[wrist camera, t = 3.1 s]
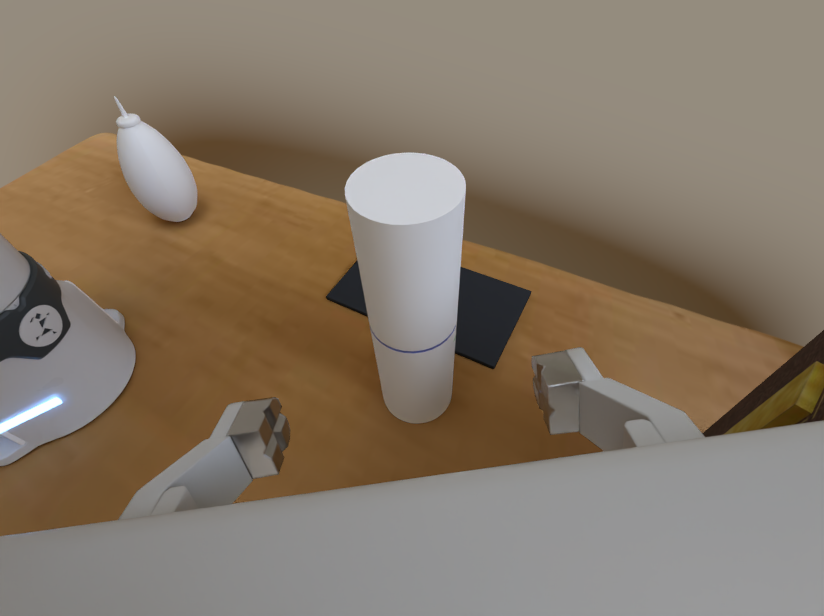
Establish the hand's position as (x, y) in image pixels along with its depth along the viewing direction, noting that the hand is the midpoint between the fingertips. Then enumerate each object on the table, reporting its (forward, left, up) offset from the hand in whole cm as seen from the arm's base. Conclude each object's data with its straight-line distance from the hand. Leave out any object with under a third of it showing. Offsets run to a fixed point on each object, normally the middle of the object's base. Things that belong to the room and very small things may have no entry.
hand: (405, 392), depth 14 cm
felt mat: (-4, +28, -28) cm, 40 cm away
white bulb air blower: (-43, +38, -28) cm, 64 cm away
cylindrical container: (-3, +15, -28) cm, 32 cm away
